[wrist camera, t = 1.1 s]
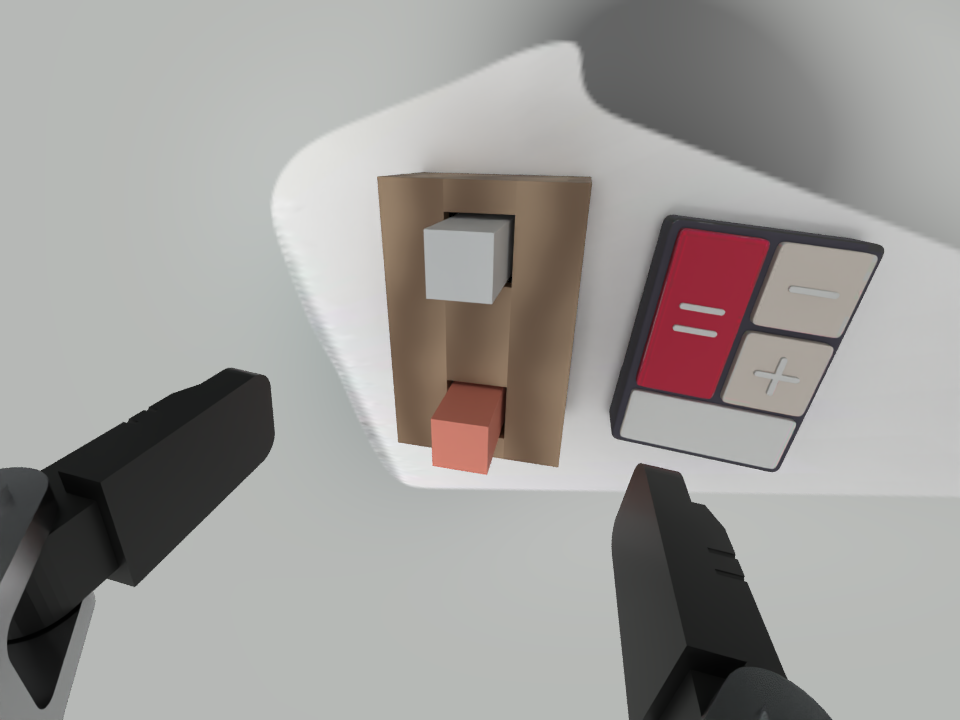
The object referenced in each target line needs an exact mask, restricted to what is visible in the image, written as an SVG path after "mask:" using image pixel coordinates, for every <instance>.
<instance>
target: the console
mask: <svg viewBox="0 0 960 720" xmlns="http://www.w3.org/2000/svg"><path fill="white" fill-rule="evenodd" d="M377 180H378V193H379V206H380V218H381V231H382V243H383V256H384V269H385V281H386V294H387V306H388V319H389V332H390V344H391V357H392V369H393V382H394V395H395V407H396V420H397V432H398V442H399V443H406V444H412V445H419V446H425V447H431V448H432V435H431V418H432V416H433V415H434V413H435V411H436V410H437V408H438V406H439V405H440V403H441V401H442V400H443V398H444V396H445V395H446V393H447V391H448V390H449V388H450V386H451V385H452V384H451V380H452V381H460V382H468V383H476V384H484V385H492V386H500V387H507V393H506V413H505V420H504V423H503V426H502V429H501V432H500V435H499V438H498V442H497V445H496V448H495V451H494V454H493V457H495V458H502V459H508V460H515V461H521V462H527V463H534V464H540V465H547V466H553V467H558V465H559V456H560V448H561V440H562V431H563V423H564V414H565V406H566V398H567V389H568V381H569V372H570V364H571V355H572V347H573V339H574V330H575V322H576V313H577V305H578V297H579V288H580V280H581V271H582V263H583V255H584V246H585V238H586V229H587V221H588V212H589V204H590V196H591V187H592V180H591V177H574V176H537V175H500V174H463V173H426V172H421V173H411V174H400V175H390V176H379V177H377ZM449 212H462V213H484V214H506V215H515V231H514V251H513V271H512V283H506V284H505V285H504V287H503V288H502V290H501V291H500V293H499V294H498V296H497V297H496V299H495V300H494V302H493V304H483V303H472V302H460V301H449V300H437V299H426V280H425V254H424V229H425V228H427V227H430V226H432V225H434V224H436V223H439V222H441V221H443V220H446V219H448V218H449Z"/></svg>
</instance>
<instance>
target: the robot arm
mask: <svg viewBox="0 0 960 720" xmlns="http://www.w3.org/2000/svg"><path fill="white" fill-rule="evenodd" d="M274 436H275V431H274V419H273V408H272V397H271V386H270V382H269V380H268V378H267V377H266V376H264V375H261V374H257V373H252V372H248V371H244V370H239V369H235V368H227V369H225V370H223V371H221V372H219V373H218V374H216V375H214V376H213V377H211V378H210V379H208V380H207V381H205V382H203V383H201V384H199V385H196V386H193V387H190V388H187V389H184V390H181V391H178V392H176V393H173V394H171V395H169V396H167V397H165V398H164V399H162V400H160V401H159V402H157V403H155V404H154V405H152V406H150V407H149V409H148V410H147V411H145V410H143V411H142V412H140V413H138V414H136V415H135V416H133V417H131V418H130V419H129V421H128V422H127V423H125V422H123V423H121V424H119V425H118V426H116V427H115V428H113V429H111V430H109V431H108V432H106V433H104V434H103V435H101V436H99V437H97V438H96V439H94V440H92V441H91V442H89V443H87V444H86V445H84V446H82V447H80V448H79V449H77V450H75V451H74V452H72V453H70V454H68V455H67V456H65V457H63V458H62V459H60V460H58V461H57V462H55V463H53V464H52V465H50V466H48V467H46V468H45V469H43V470H41V471H39V470H37V469H32V468H23V467H12V468H2V469H0V720H63V717H64V712H65V709H66V705H67V702H68V698H69V695H70V691H71V687H72V684H73V681H74V677H75V673H76V670H77V666H78V663H79V659H80V656H81V652H82V649H83V645H84V642H85V638H86V634H87V631H88V628H89V624H90V620H91V617H92V613H93V610H94V606H95V595H94V592H93V590H95V589H96V588H97V587H98V586H99V585H100V584H101V583H102V582H103V581H105V580H106V579H110V580H113V581H117V582H120V583H124V584H127V585H130V586H134V587H135V586H136V585H137V584H138V583H140V581H141V580H143V579H144V578H145V577H146V576H147V575H148V574H149V572H151V571H152V570H153V569H154V568H155V567H156V566H157V565H158V564H159V563H160V562H161V561H162V560H163V559H164V558H165V557H166V556H167V555H168V554H169V553H170V552H171V551H172V550H173V549H174V548H175V547H176V546H177V545H178V544H179V543H180V542H181V541H182V540H183V539H184V538H185V537H186V536H187V535H188V534H189V533H190V532H191V531H192V530H193V529H195V528H196V526H197V525H199V524H200V523H201V522H202V521H203V520H204V519H205V518H206V517H207V516H208V515H209V514H210V513H211V512H212V511H213V510H214V509H215V508H216V507H217V506H218V505H219V504H220V503H221V502H222V501H223V500H224V499H225V498H226V497H227V496H228V495H229V494H230V493H231V492H232V491H233V490H234V489H235V488H236V487H237V486H238V485H239V484H240V483H241V482H242V481H243V480H244V479H245V478H246V477H248V475H250V474H251V472H253V471H254V470H255V469H256V468H257V467H258V466H259V465H260V463H262V462H263V461H264V460H265V458H266V457H267V455H268V454H269V452H270V450H271V448H272V445H273V442H274ZM612 558H613V568H614V578H615V587H616V597H617V607H618V616H619V625H620V635H621V646H622V655H623V665H624V674H625V685H626V694H627V704H628V714H629V720H832V719H831V717H830V716H829V715H828V714H827V713H826V711H825V710H824V709H823V708H822V707H821V706H820V705H819V704H818V703H817V702H816V701H815V700H814V699H813V698H812V697H810V696H809V695H808V694H807V693H806V692H805V691H804V690H802V689H801V688H799V687H798V686H797V685H795V684H794V683H793V682H791V681H789V680H788V679H787V677H786V675H785V673H784V670H783V668H782V665H781V663H780V661H779V658H778V656H777V653H776V651H775V649H774V646H773V644H772V641H771V639H770V636H769V634H768V632H767V629H766V627H765V624H764V622H763V620H762V617H761V615H760V612H759V610H758V608H757V605H756V603H755V600H754V598H753V595H752V593H751V591H750V588H749V586H748V583H747V582H745V581H744V574H743V571H742V569H741V566H740V564H739V562H738V560H737V559H735V552H734V550H733V547H732V545H731V542H730V540H729V538H728V535H727V533H726V530H725V528H724V527H723V526H722V525H721V524H720V522H719V521H718V520H717V519H716V518H715V517H714V516H713V514H712V513H711V512H710V511H709V509H708V508H707V507H706V506H705V505H702V504H697V503H694V502H691V499H690V496H689V494H688V491H687V488H686V485H685V482H684V479H683V477H682V475H681V473H679V472H676V471H672V470H668V469H663V468H659V467H655V466H650V465H646V464H642V463H640V464H638V465H637V466H636V468H635V470H634V472H633V475H632V477H631V480H630V483H629V485H628V488H627V490H626V493H625V496H624V498H623V501H622V503H621V506H620V509H619V511H618V514H617V516H616V519H615V523H614V527H613V533H612Z"/></svg>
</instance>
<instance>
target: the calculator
mask: <svg viewBox="0 0 960 720" xmlns="http://www.w3.org/2000/svg"><path fill="white" fill-rule="evenodd" d="M883 254H884V248H883V247H882V246H881V245H878V244H874V243H870V242H865V241H860V240H855V239H849V238H842V237H835V236H827V235H820V234H812V233H805V232H798V231H790V230H783V229H775V228H768V227H760V226H753V225H745V224H738V223H730V222H723V221H715V220H708V219H701V218H693V217H686V216H678V215H669V216H667V217H666V218H665V219H664V221H663V224H662V227H661V231H660V234H659V238H658V242H657V245H656V249H655V252H654V256H653V259H652V263H651V266H650V270H649V273H648V277H647V280H646V284H645V287H644V291H643V295H642V298H641V302H640V305H639V309H638V313H637V316H636V320H635V324H634V327H633V331H632V335H631V338H630V342H629V345H628V349H627V353H626V356H625V360H624V363H623V366H622V368H621V371H620V375H619V378H618V382H617V385H616V389H615V393H614V396H613V400H612V403H611V407H610V411H609V413H610V422H611V431H612V435H613V437H614V438H616V439H620V440H624V441H629V442H634V443H638V444H643V445H648V446H652V447H657V448H661V449H666V450H671V451H675V452H680V453H685V454H689V455H694V456H699V457H703V458H708V459H712V460H717V461H722V462H726V463H731V464H736V465H740V466H745V467H750V468H754V469H759V470H763V471H768V472H775V471H777V470H778V469H779V468H780V466H781V464H782V462H783V460H784V458H785V456H786V454H787V452H788V450H789V448H790V446H791V444H792V442H793V440H794V438H795V436H796V434H797V432H798V430H799V427H800V425H801V423H802V421H803V419H804V417H805V415H806V413H807V411H808V409H809V407H810V405H811V403H812V401H813V399H814V397H815V395H816V393H817V390H818V388H819V386H820V384H821V382H822V380H823V378H824V376H825V374H826V372H827V370H828V368H829V366H830V364H831V362H832V360H833V358H834V355H835V353H836V351H837V349H838V347H839V345H840V343H841V341H842V339H843V337H844V335H845V333H846V331H847V329H848V327H849V325H850V323H851V320H852V318H853V316H854V314H855V312H856V310H857V308H858V306H859V304H860V302H861V300H862V298H863V296H864V294H865V292H866V290H867V288H868V285H869V283H870V281H871V279H872V277H873V275H874V273H875V271H876V269H877V267H878V265H879V263H880V261H881V259H882V257H883Z"/></svg>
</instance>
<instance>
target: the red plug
mask: <svg viewBox="0 0 960 720" xmlns="http://www.w3.org/2000/svg"><path fill="white" fill-rule="evenodd" d="M506 393H507V387H500V386H492V385H484V384H476V383H468V382H460V381H453V383H452V385H451V386H450V388H449V390H448V391H447V393H446V395H445V396H444V398H443V400H442V401H441V403H440V405H439V406H438V408H437V410H436V411H435V413H434V415H433V416H432V418H431V435H432V461H433V466H437V467H443V468H449V469H455V470H461V471H467V472H473V473H480V474H486V475H487V473H488V470H489V467H490V464H491V460H492V457H493V454H494V451H495V448H496V445H497V442H498V438H499V435H500V432H501V429H502V426H503V423H504V420H505V413H506Z"/></svg>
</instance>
